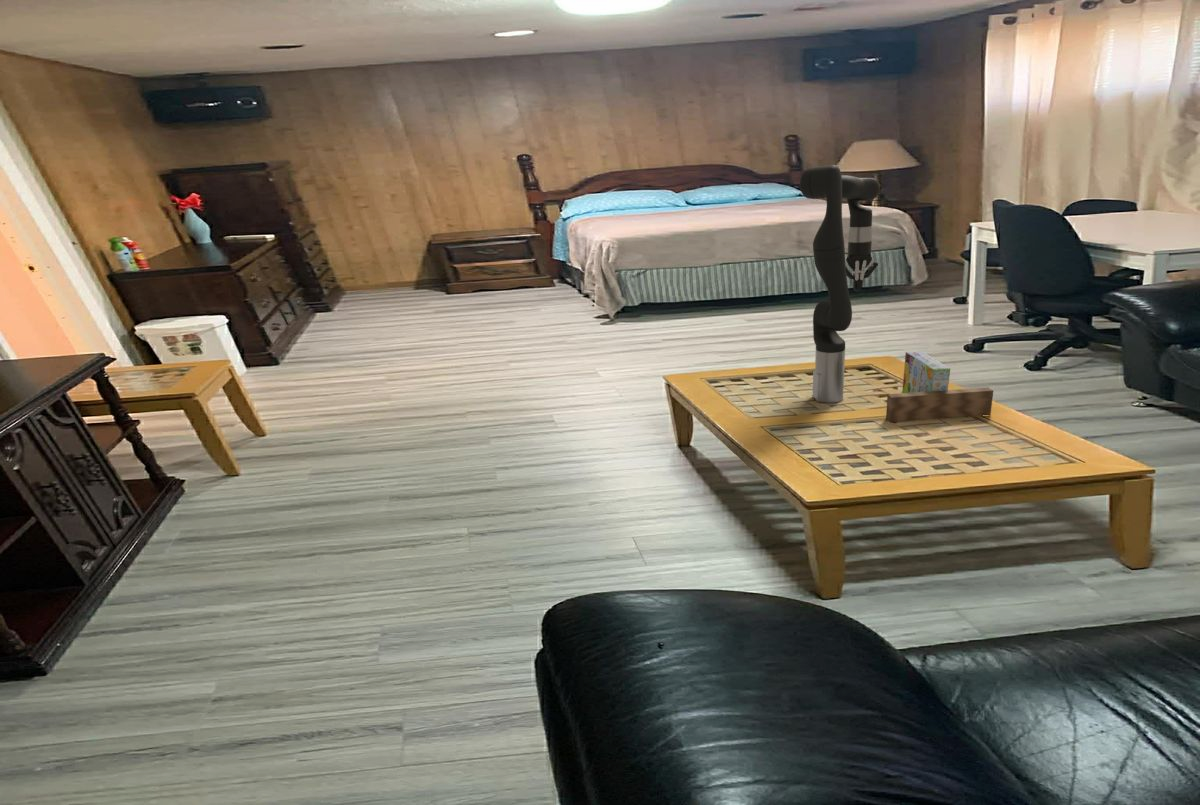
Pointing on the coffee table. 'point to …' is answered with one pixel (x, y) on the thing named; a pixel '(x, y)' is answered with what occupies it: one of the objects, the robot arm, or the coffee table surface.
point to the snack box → (924, 373)
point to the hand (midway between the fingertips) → (857, 290)
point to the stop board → (939, 404)
